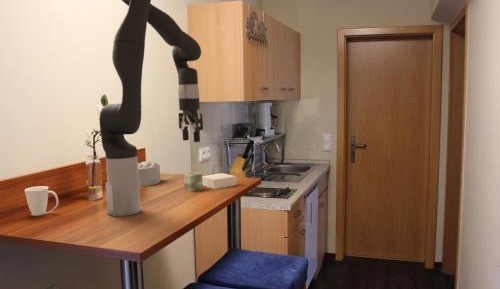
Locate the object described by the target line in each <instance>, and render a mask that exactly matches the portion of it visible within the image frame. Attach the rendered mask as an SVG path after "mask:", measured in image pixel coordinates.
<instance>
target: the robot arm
mask: <svg viewBox="0 0 500 289" xmlns="http://www.w3.org/2000/svg"><path fill="white" fill-rule="evenodd" d="M121 1H122V2H123V3H124V4H125V5H127V6H128V9H127V12H126V14H125V16H124V18H123V19H122V21H121V23H120V25H119V27H118V29H117V30H116V32H115V35H114V39H113V45H112V54H111V58H112V65H113V67H114V69H115V71H116V73H117V76H118V77H119V80H120V82H121V86H122V88H121V89H122V92H121V93H122V94H121V97H122V99H121V103H109V104H106V105H104V106H103V107H102V109H101V110H100V112H99V129H100V138H101V139H100V140H101V146H102V149H103V151H104V153H105V154H104V155H105V162H106V163H105V167H107V171H106V176H107V181H106V182H105V183H104V184H105V195H106V196H105V198H106V212H107V214H109V215H111V216H113V217H124V216H132V215H136V214H139V213H140V212H141V211H142V209H141V192H140V186H139V173H138V163H139V160H138V158H139V156H138V149H137V147H136V146H135V145H134V144H131V143H130V142H129V141H127V139H126V138H125V135H134V134H136V133H137V132H138V130H139V129H140V126H141V123H142V122H141V121H142V78H143V68H144V67H143V65H144V59H145V46H146V35H147V34H146V33H147V25H148V24H149V25H150V27H152V28H153V30H155V32H157V34H158V35H159V36H160V37H161V38H162V40H163V41H164V42H165V43H166V44H167V45H169V46H170V47H172V49H171V50H172V51H171V56H172V60H173V63H174V66H175V69H176V71H177V75H178V76H177V77H178V78H177V79H178V82H177V83H178V92H177V93H178V108H179V111H181V112H179V113H178V128H179V129H180V130H181V131H182V133H181V134H182V141H189V140H190V135H189V134H190V133H189V132H190V131H189V128H192V131H193V132H192V135H193V142H194V143H200V142H201V134H200V132H201V131H202V130H204V123H203V113H202V112H200V113H199V112H198V110H201V109H200V108H201V105H200V104H201V103H200V102H201V101H200V89H199V79H198V71H197V69H196V68H193V67H190V66H189V64H188V62H195V61H198V60H199V59H200V58H201V56H202V50H201V46H200V44H199V43H198V41H197V40H195V38H193V37H192V36H190V35H189V34H188V33H186V32H185V31H184V30H182V29H181V27H180V26H179V24H178V23H177V22H176V21H175V19H174V18H172V16H170V15H169V14H168V13H166V12H165V11H164V10H162V9H160V8H159V7H157V6H155V5H153V4H152V3H151V1H152V0H121ZM147 23H148V24H147Z"/></svg>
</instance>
